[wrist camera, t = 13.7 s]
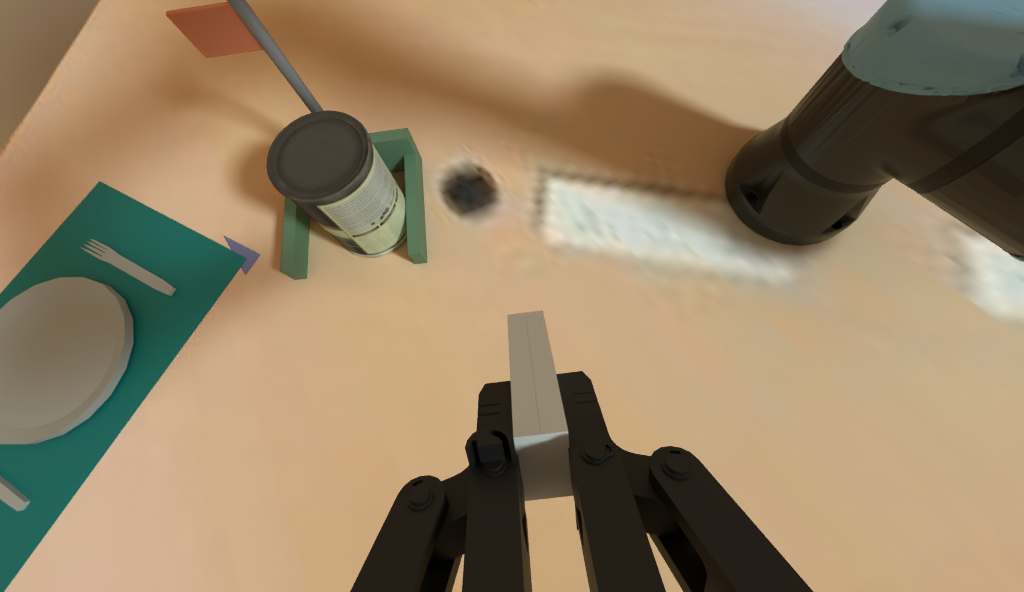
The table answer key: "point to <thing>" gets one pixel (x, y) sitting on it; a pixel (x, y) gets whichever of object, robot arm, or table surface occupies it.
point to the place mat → (91, 348)
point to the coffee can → (340, 182)
